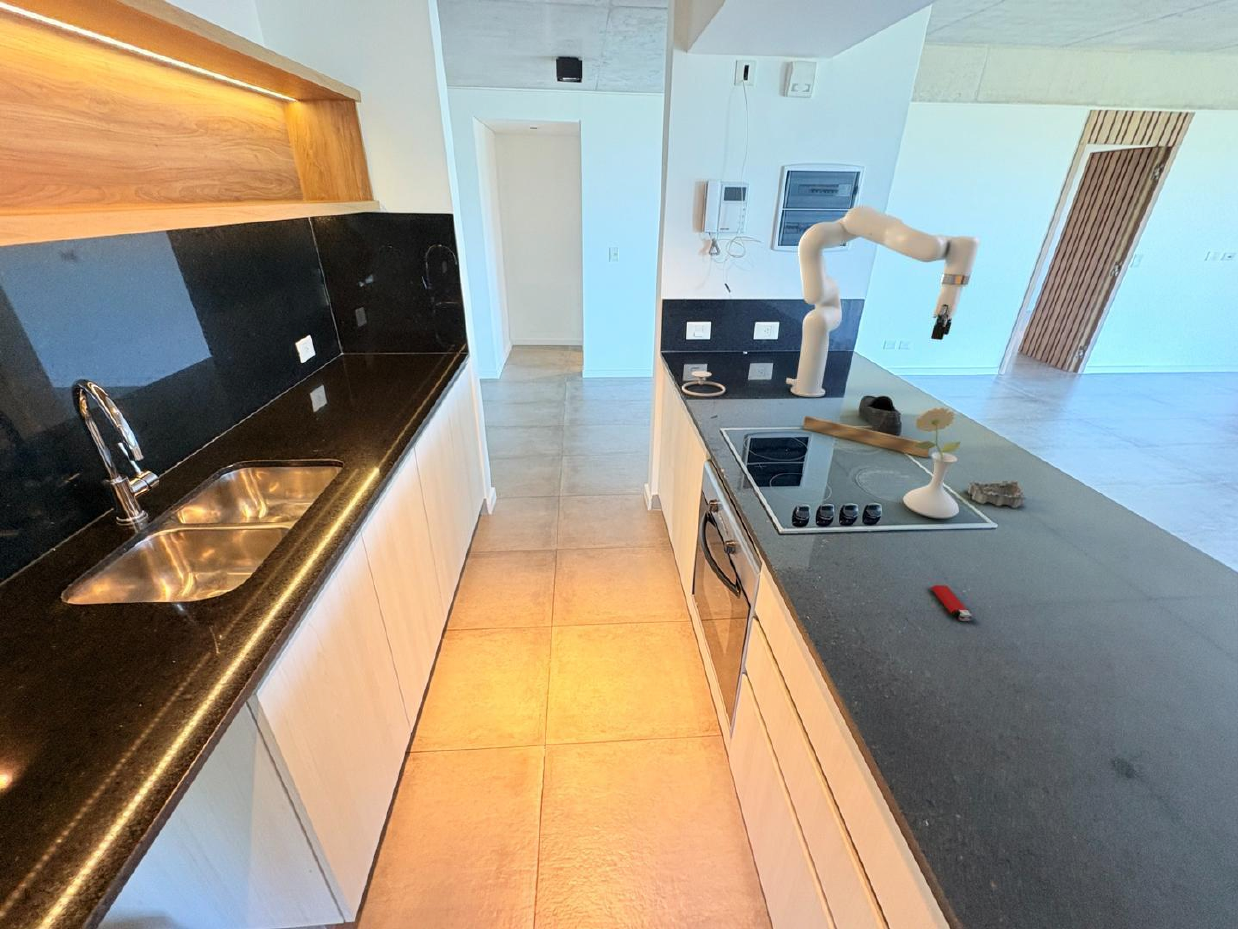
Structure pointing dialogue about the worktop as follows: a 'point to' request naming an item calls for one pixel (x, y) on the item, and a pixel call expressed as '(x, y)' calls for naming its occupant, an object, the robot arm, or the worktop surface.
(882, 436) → the long wooden plank
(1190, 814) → the worktop surface
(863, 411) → the loafer
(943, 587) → the lighter
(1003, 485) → the egg carton
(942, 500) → the flower in vase
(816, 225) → the robot arm
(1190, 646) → the worktop surface
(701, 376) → the hand towel holder
